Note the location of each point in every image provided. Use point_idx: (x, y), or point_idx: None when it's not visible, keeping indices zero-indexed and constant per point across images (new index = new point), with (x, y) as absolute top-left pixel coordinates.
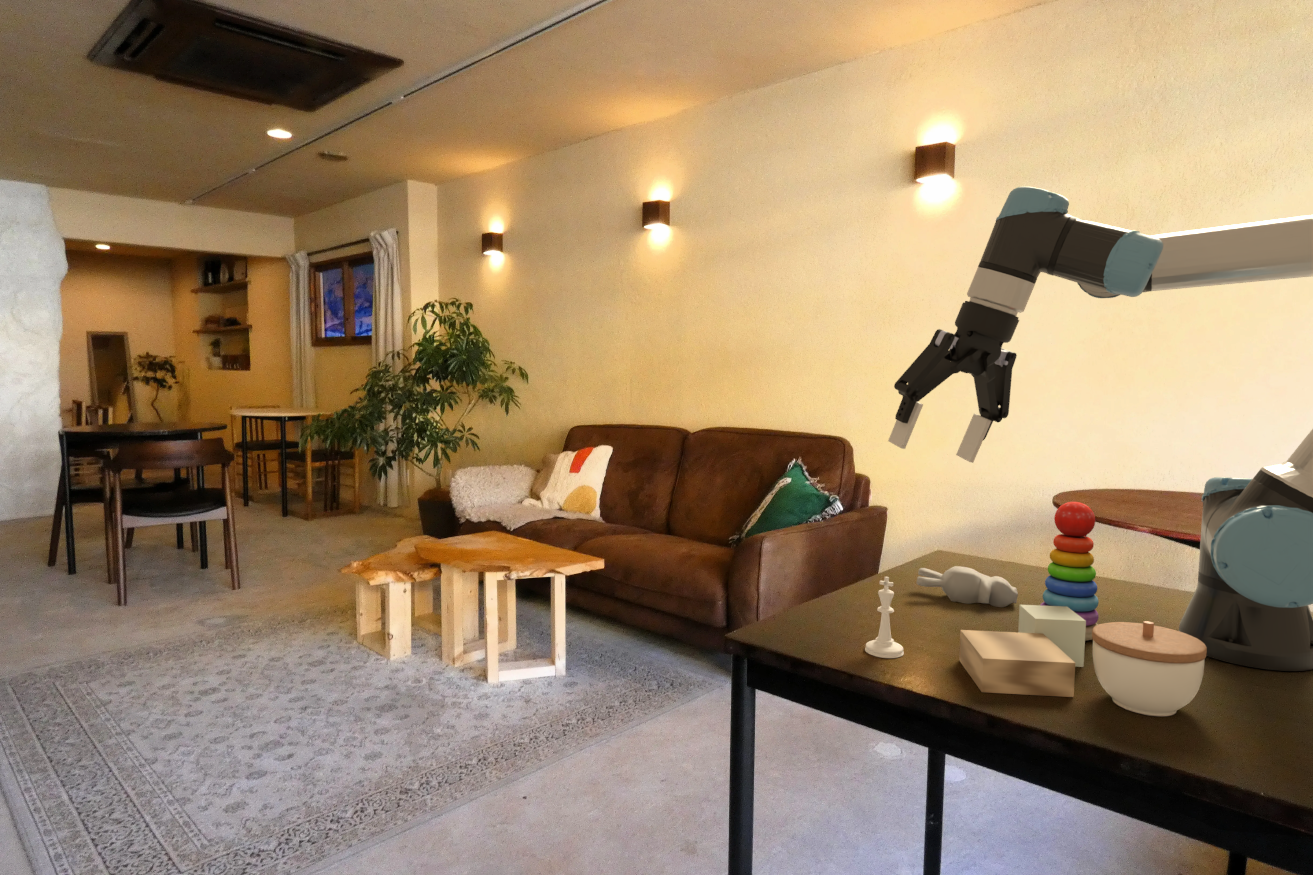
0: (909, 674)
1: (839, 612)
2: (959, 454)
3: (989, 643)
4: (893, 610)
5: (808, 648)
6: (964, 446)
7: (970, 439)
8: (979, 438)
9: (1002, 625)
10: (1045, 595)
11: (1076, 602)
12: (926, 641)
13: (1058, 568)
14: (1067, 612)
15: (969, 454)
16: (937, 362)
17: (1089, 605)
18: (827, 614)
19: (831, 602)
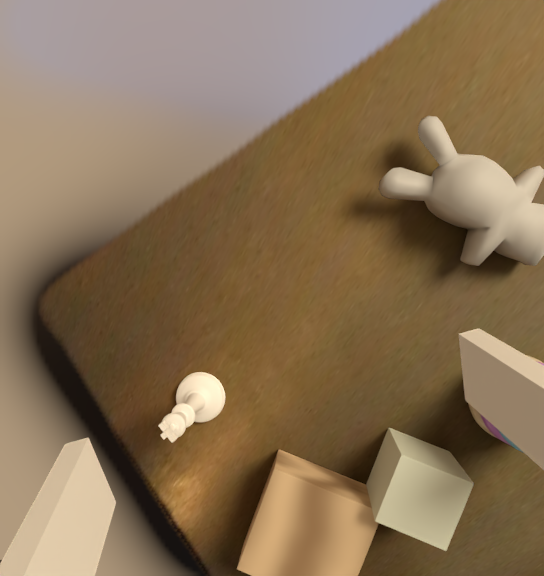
0: (192, 472)
1: (217, 228)
2: (463, 352)
3: (279, 525)
4: (192, 421)
5: (112, 363)
6: (491, 375)
7: (521, 413)
8: (541, 467)
9: (433, 339)
10: None
11: (521, 451)
12: (277, 375)
13: None
14: (449, 509)
15: (480, 401)
16: None
17: None
18: (195, 234)
19: (228, 176)
